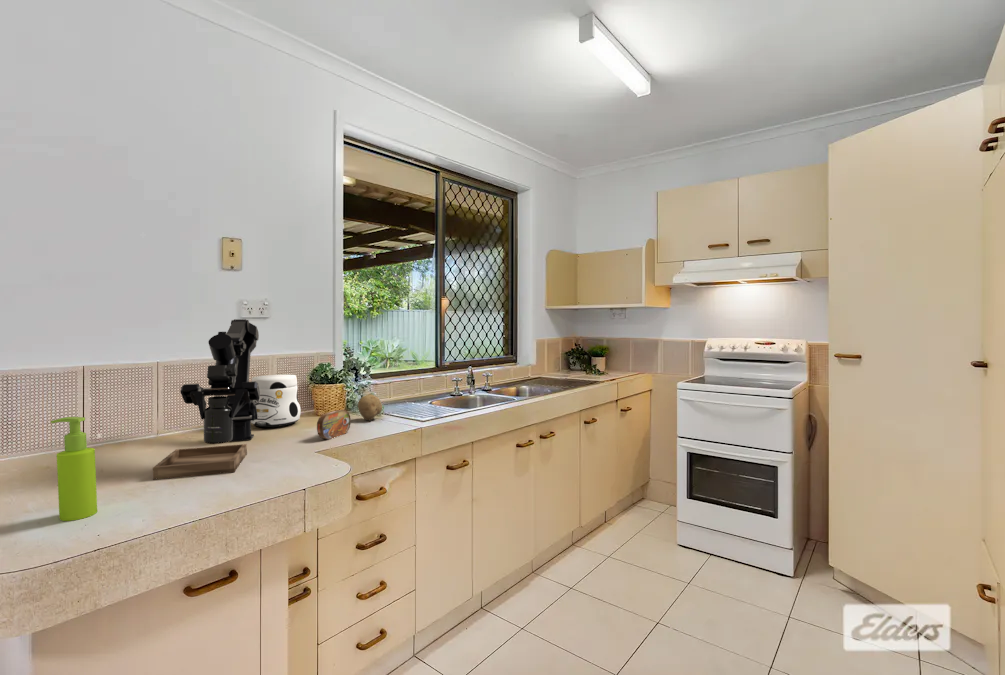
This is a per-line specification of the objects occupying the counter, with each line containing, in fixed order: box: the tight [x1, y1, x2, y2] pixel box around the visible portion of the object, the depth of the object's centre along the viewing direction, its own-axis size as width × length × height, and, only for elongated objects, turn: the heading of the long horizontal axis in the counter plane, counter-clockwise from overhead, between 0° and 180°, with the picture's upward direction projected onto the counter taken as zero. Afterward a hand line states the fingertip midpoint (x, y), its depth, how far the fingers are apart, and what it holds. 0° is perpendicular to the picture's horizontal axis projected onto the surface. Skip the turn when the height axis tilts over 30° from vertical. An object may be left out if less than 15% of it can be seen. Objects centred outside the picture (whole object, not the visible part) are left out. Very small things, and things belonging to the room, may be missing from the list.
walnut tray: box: [152, 443, 248, 481], centre depth 135 cm, size 18×18×3 cm
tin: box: [316, 409, 352, 440], centre depth 168 cm, size 15×3×8 cm, turn 161°
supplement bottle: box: [203, 395, 233, 445], centre depth 135 cm, size 7×7×12 cm
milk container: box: [250, 374, 301, 428], centre depth 186 cm, size 17×17×18 cm
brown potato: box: [357, 393, 383, 421], centre depth 194 cm, size 9×9×10 cm
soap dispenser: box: [49, 416, 98, 522], centre depth 101 cm, size 6×7×20 cm
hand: (217, 417), depth 134 cm, fingers closed on supplement bottle, 7 cm apart
